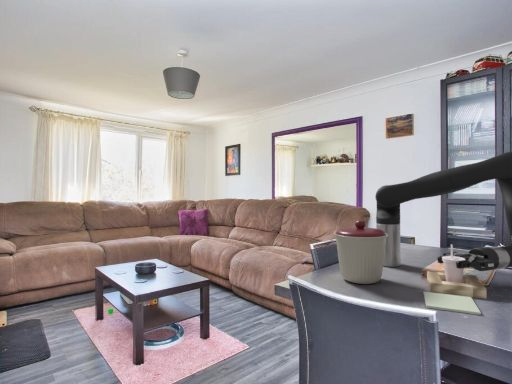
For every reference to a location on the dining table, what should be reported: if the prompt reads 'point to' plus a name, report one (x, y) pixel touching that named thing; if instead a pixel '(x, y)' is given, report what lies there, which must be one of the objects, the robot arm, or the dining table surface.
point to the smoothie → (452, 268)
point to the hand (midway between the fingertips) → (447, 262)
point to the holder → (456, 285)
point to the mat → (451, 303)
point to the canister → (361, 253)
